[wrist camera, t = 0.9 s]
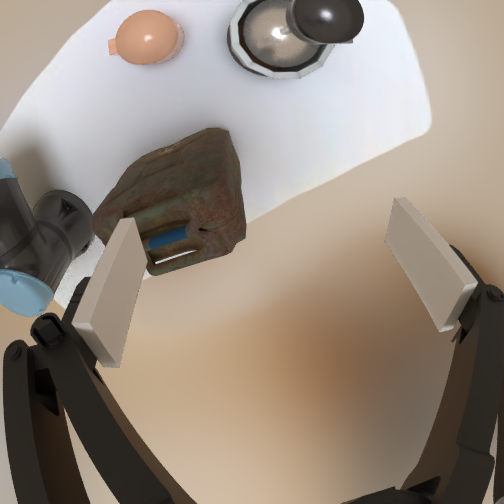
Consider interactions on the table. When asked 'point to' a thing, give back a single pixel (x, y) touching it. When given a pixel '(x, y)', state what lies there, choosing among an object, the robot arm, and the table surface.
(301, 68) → the faceted grey tankard
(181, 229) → the canister
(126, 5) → the table surface
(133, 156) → the table surface
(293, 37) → the plunger
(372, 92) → the table surface
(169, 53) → the peach mug
